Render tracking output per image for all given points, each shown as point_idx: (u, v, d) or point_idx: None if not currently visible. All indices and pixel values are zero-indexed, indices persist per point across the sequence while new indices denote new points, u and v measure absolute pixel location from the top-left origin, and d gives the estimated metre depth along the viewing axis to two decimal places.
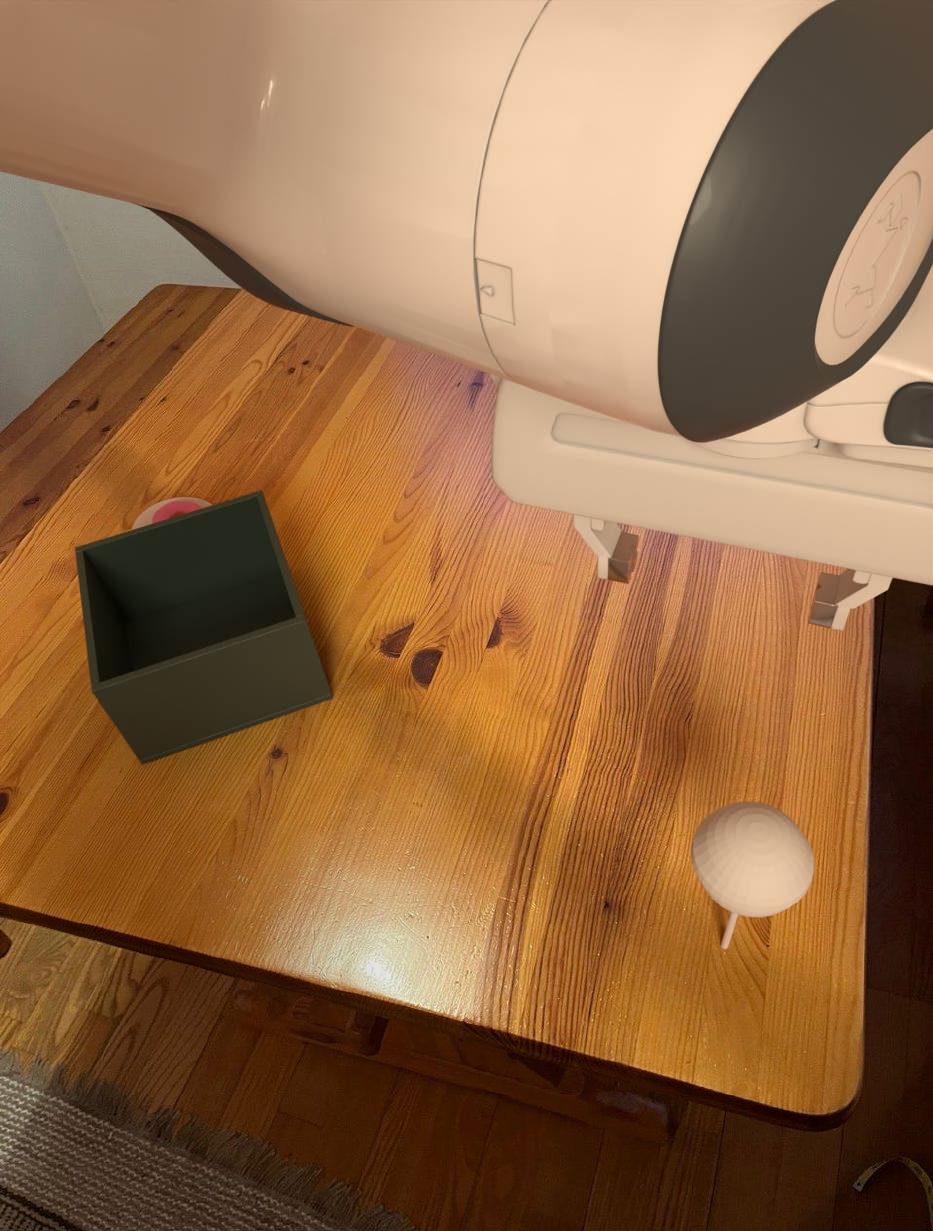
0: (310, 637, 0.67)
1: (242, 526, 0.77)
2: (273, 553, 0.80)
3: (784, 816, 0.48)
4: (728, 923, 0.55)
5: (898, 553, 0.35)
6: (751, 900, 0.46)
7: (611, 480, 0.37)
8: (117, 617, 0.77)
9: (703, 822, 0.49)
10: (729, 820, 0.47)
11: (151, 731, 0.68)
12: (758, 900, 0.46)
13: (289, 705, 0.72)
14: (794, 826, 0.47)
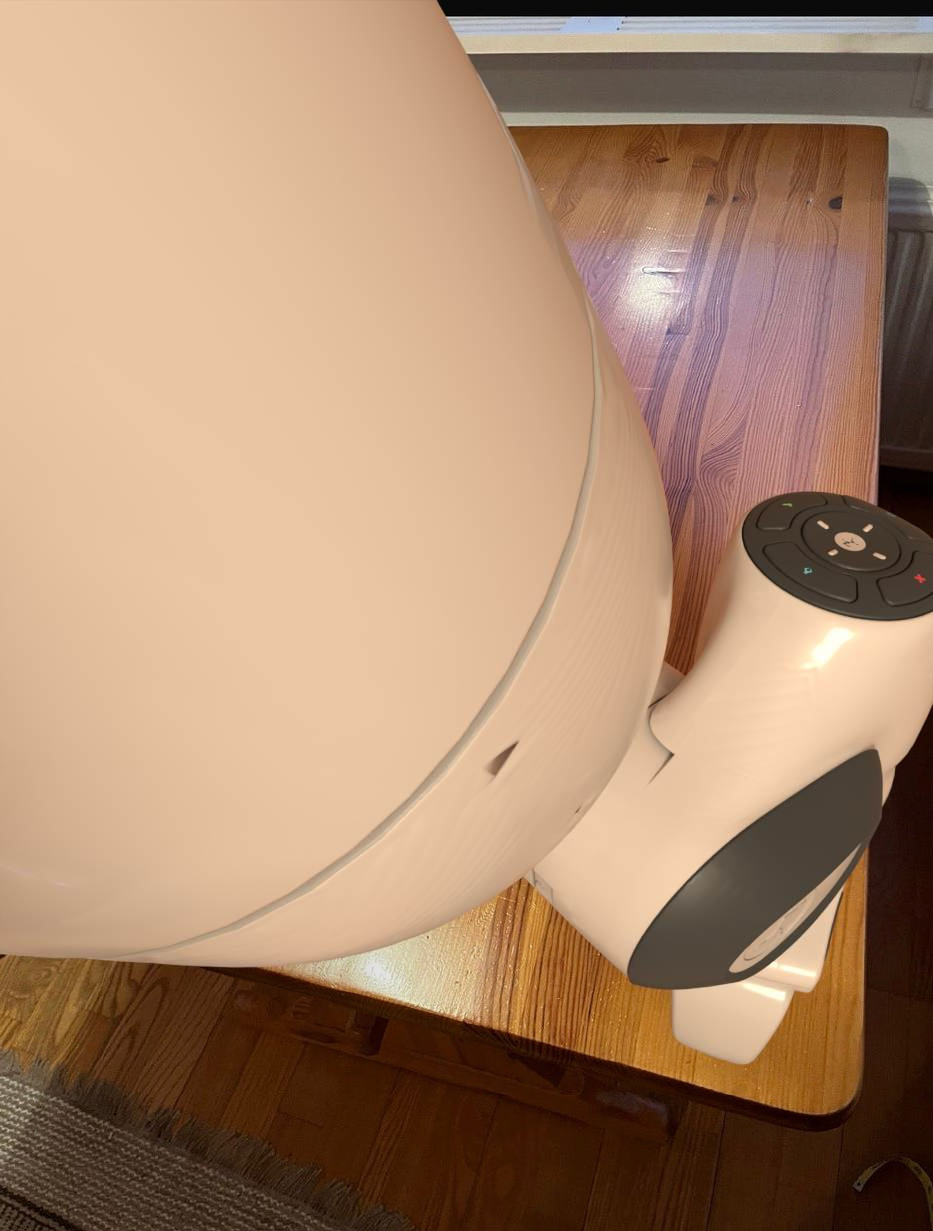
0: None
1: None
2: None
3: None
4: None
5: None
6: None
7: None
8: None
9: None
10: None
11: None
12: None
13: None
14: None
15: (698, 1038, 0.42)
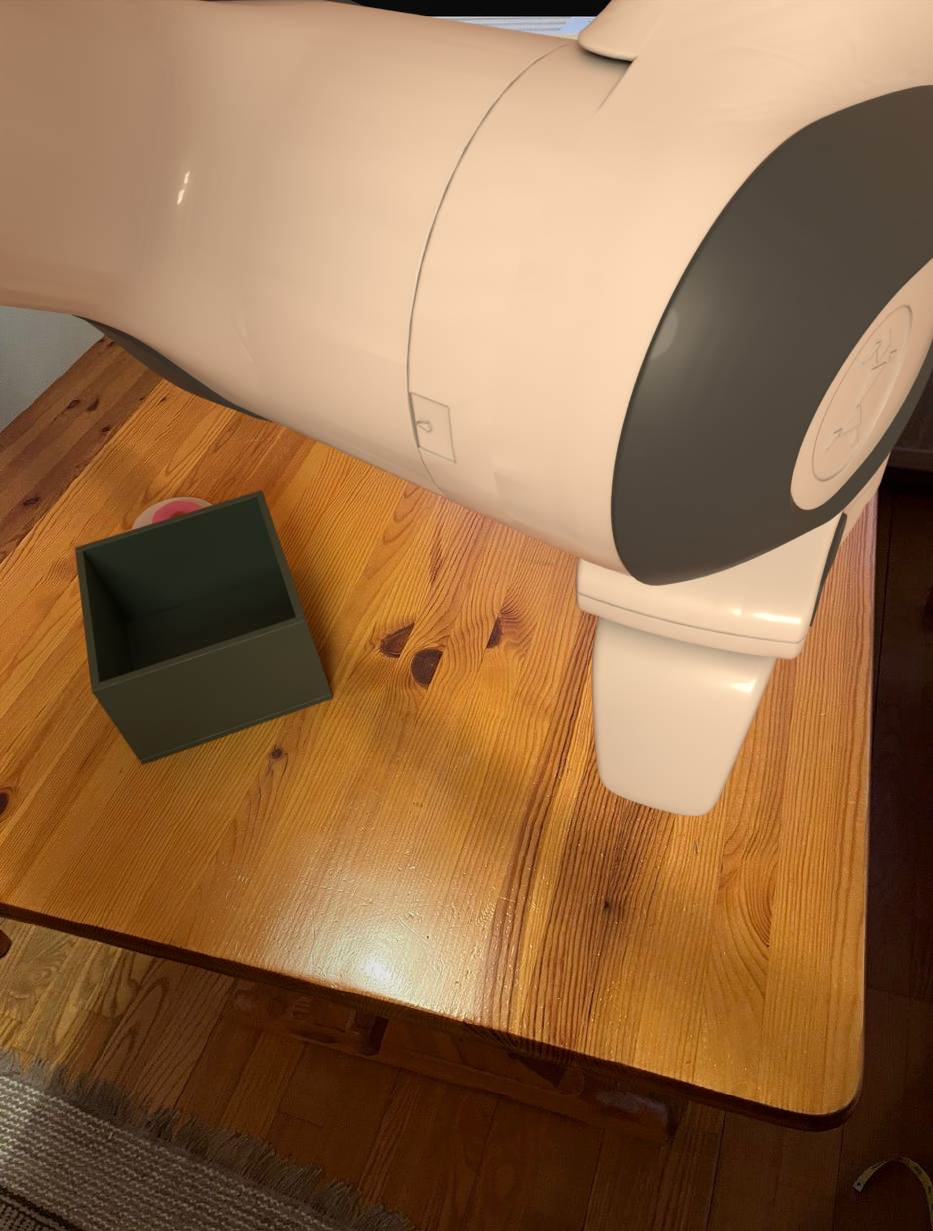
0: (310, 637, 0.67)
1: (242, 526, 0.77)
2: (273, 553, 0.80)
3: None
4: None
5: None
6: None
7: None
8: (117, 617, 0.77)
9: None
10: None
11: (151, 731, 0.68)
12: None
13: (289, 705, 0.72)
14: None
15: (634, 774, 0.29)
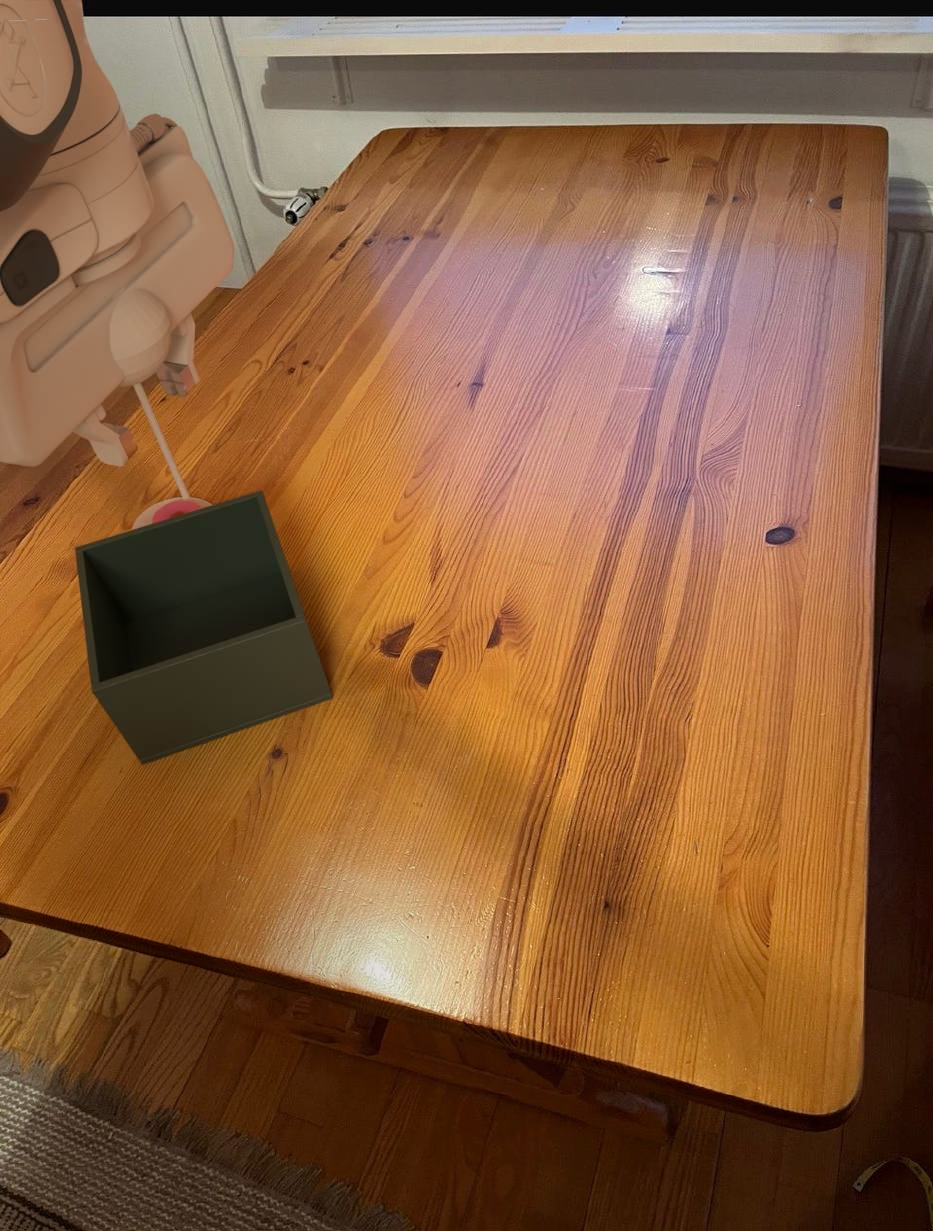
0: (310, 637, 0.67)
1: (242, 526, 0.77)
2: (273, 553, 0.80)
3: None
4: (163, 453, 0.56)
5: None
6: None
7: None
8: (117, 617, 0.77)
9: None
10: None
11: (151, 731, 0.68)
12: None
13: (289, 705, 0.72)
14: None
15: None
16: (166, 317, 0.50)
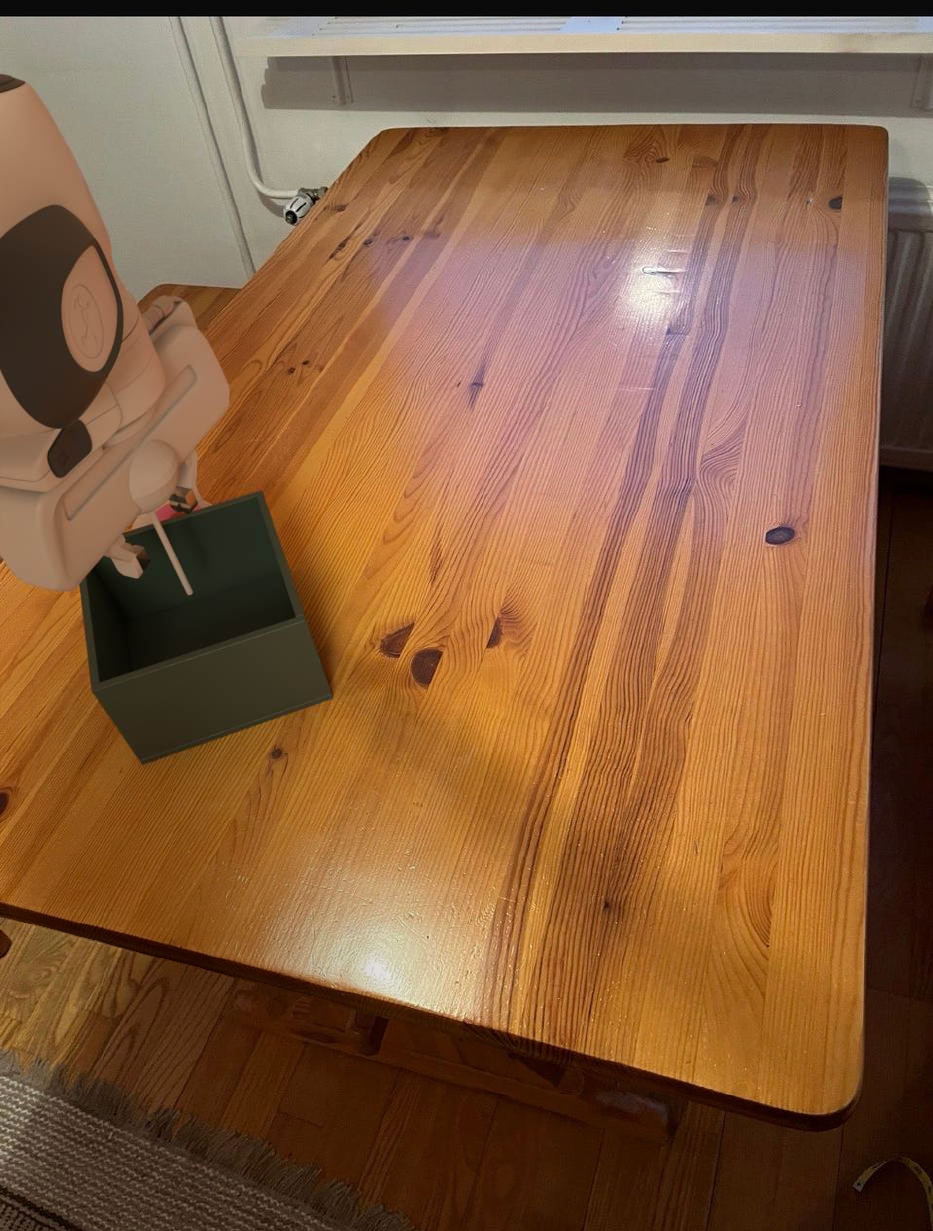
0: (310, 637, 0.67)
1: (242, 526, 0.77)
2: (273, 553, 0.80)
3: None
4: None
5: None
6: None
7: None
8: (117, 617, 0.77)
9: None
10: None
11: (151, 731, 0.68)
12: None
13: (289, 705, 0.72)
14: None
15: (18, 565, 0.55)
16: (174, 460, 0.61)
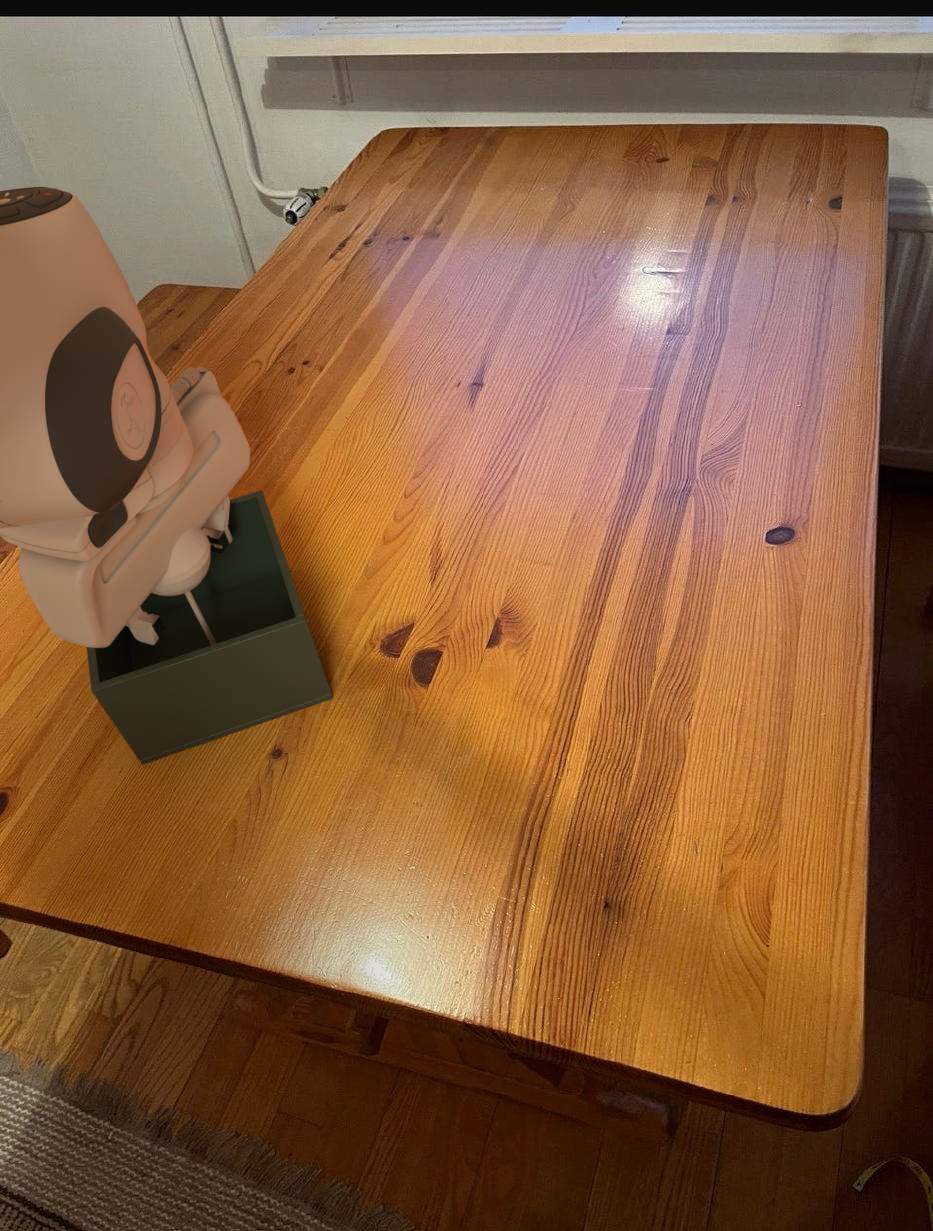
0: (310, 637, 0.67)
1: (242, 526, 0.77)
2: (273, 553, 0.80)
3: None
4: (203, 629, 0.73)
5: None
6: None
7: None
8: None
9: None
10: None
11: (151, 731, 0.68)
12: None
13: (289, 705, 0.72)
14: None
15: (58, 625, 0.59)
16: (207, 546, 0.66)
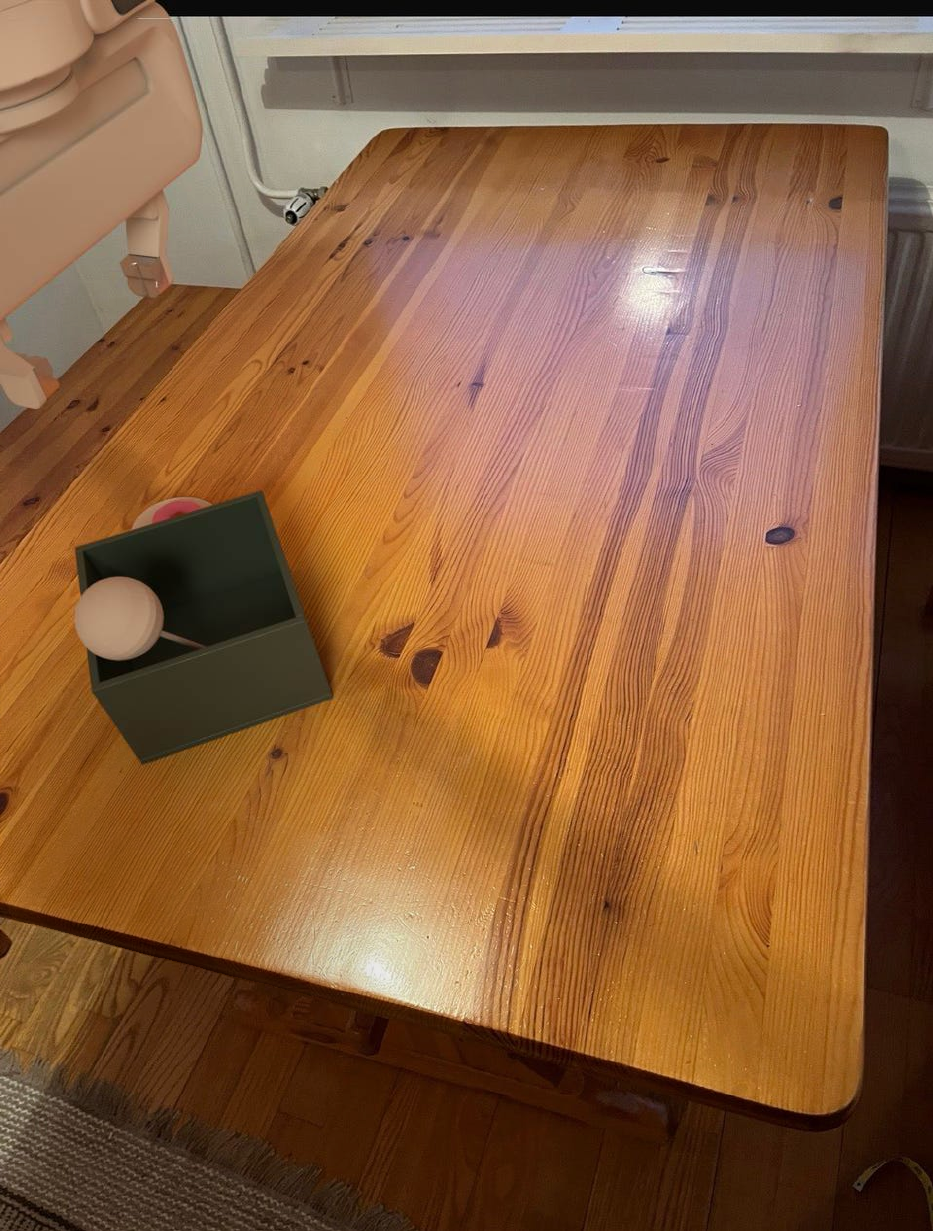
0: (310, 637, 0.67)
1: (242, 526, 0.77)
2: (273, 553, 0.80)
3: (119, 590, 0.63)
4: None
5: (161, 152, 0.43)
6: (99, 653, 0.64)
7: None
8: None
9: None
10: (81, 598, 0.64)
11: (151, 731, 0.68)
12: (102, 653, 0.64)
13: (289, 705, 0.72)
14: (124, 597, 0.63)
15: None
16: (151, 609, 0.64)
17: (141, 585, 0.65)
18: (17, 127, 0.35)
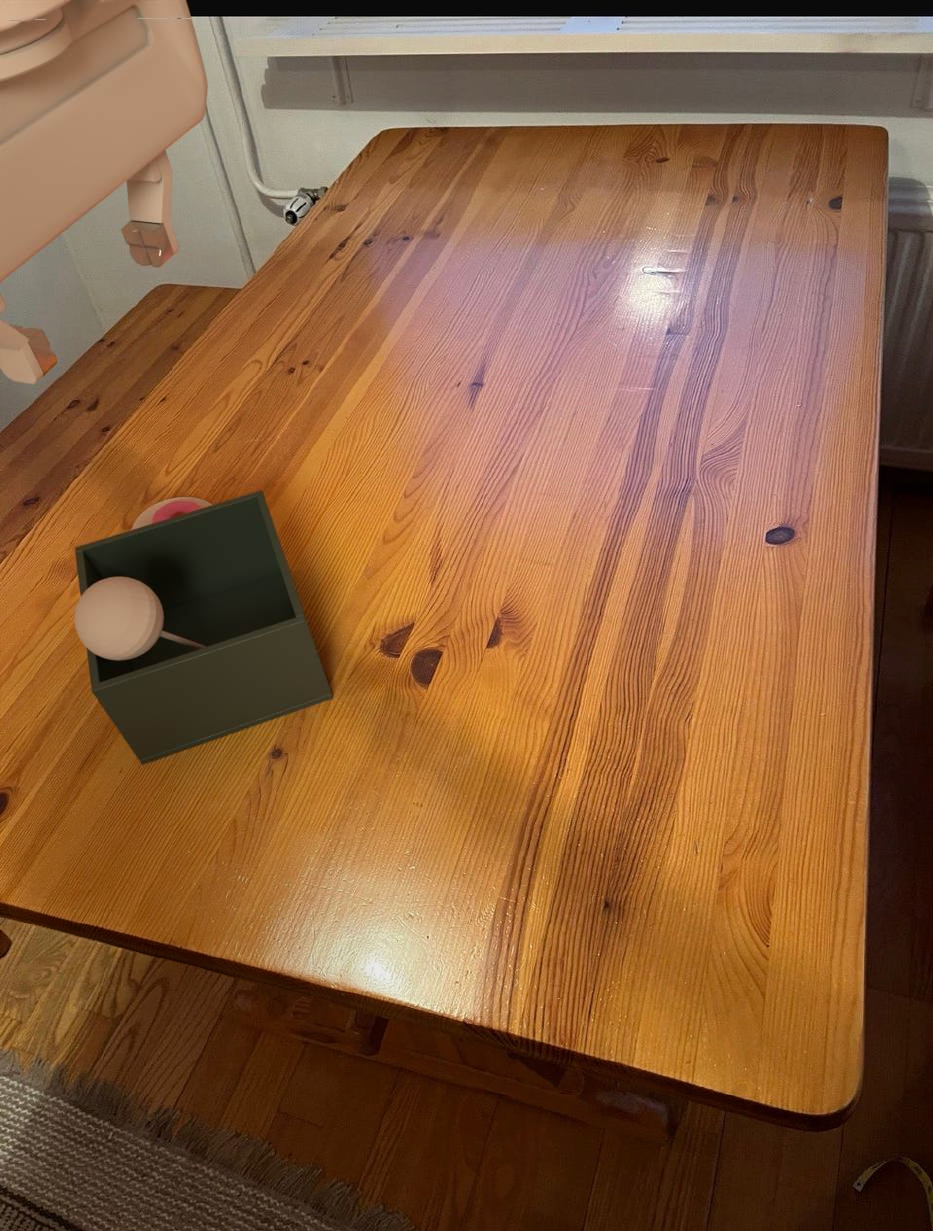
0: (310, 637, 0.67)
1: (242, 526, 0.77)
2: (273, 553, 0.80)
3: (119, 590, 0.63)
4: None
5: (163, 110, 0.40)
6: (99, 653, 0.64)
7: None
8: None
9: None
10: (81, 598, 0.64)
11: (151, 731, 0.68)
12: (102, 653, 0.64)
13: (289, 705, 0.72)
14: (124, 597, 0.63)
15: None
16: (151, 609, 0.64)
17: (141, 585, 0.65)
18: (5, 77, 0.32)
